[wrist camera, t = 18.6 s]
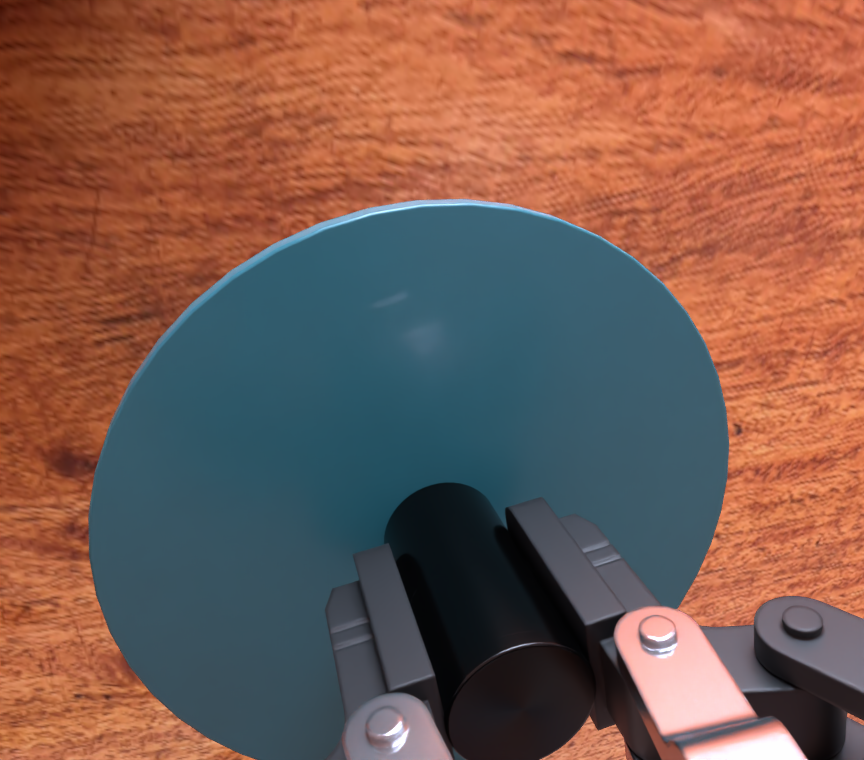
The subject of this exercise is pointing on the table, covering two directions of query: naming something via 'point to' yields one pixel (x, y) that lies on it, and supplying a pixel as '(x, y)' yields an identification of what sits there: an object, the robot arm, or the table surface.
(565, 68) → the table surface
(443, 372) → the lid
